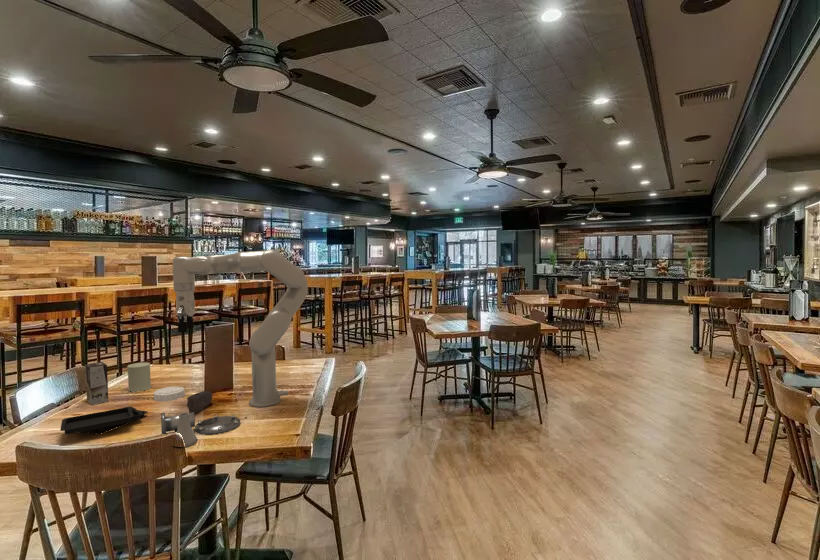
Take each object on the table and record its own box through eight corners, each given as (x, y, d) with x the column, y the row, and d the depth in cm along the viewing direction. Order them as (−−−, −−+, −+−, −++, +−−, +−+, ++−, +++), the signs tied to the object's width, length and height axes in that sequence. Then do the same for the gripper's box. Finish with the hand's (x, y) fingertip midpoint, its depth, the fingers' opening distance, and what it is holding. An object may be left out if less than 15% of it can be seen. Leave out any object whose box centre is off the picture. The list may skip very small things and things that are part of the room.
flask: (186, 449, 138) (185, 418, 138) (167, 447, 140) (165, 417, 139) (202, 439, 145) (200, 410, 145) (183, 438, 147) (182, 409, 146)
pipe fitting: (237, 415, 167) (236, 395, 166) (243, 429, 154) (242, 406, 153) (162, 429, 154) (161, 407, 154) (162, 445, 141) (160, 420, 141)
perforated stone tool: (206, 402, 183) (205, 386, 183) (217, 402, 183) (217, 386, 182) (182, 415, 169) (181, 397, 168) (194, 415, 168) (194, 398, 167)
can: (123, 390, 201) (122, 365, 200) (142, 385, 209) (141, 360, 209) (137, 392, 197) (136, 367, 197) (155, 387, 206) (154, 362, 205)
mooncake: (157, 394, 195) (157, 387, 195) (187, 392, 199) (186, 384, 198) (150, 403, 183) (150, 395, 183) (181, 400, 187) (181, 392, 187)
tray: (112, 412, 173) (112, 399, 173) (165, 414, 170) (164, 401, 170) (38, 444, 144) (37, 429, 143) (99, 448, 140) (98, 432, 140)
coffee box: (109, 401, 186) (107, 364, 185) (91, 405, 181) (89, 367, 180) (104, 397, 192) (102, 361, 191) (86, 400, 187) (84, 364, 186)
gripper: (189, 288, 164) (191, 333, 165) (199, 286, 181) (200, 326, 182) (167, 289, 162) (169, 334, 163) (179, 286, 179) (181, 327, 180)
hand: (185, 330), depth 173 cm, fingers open, 9 cm apart
